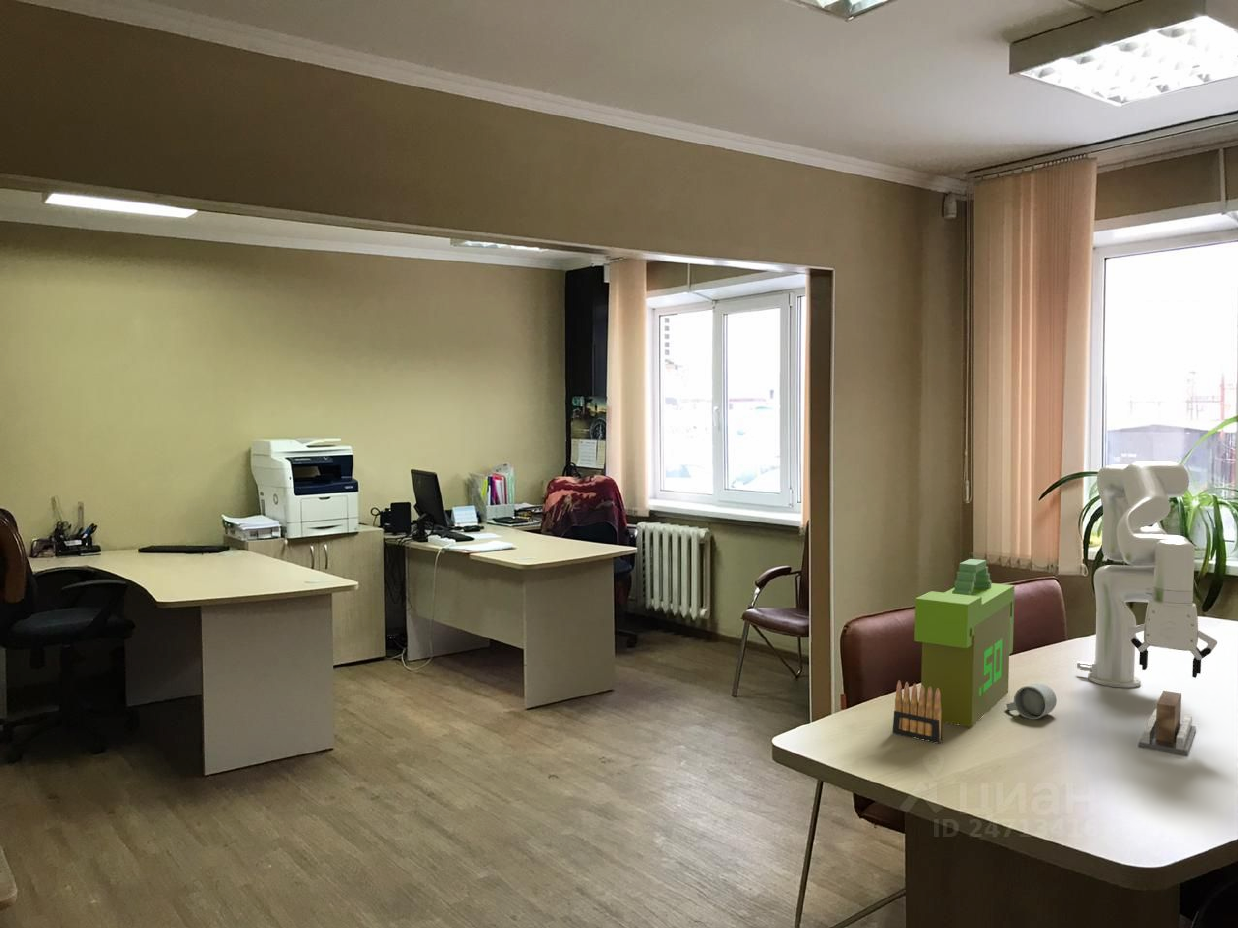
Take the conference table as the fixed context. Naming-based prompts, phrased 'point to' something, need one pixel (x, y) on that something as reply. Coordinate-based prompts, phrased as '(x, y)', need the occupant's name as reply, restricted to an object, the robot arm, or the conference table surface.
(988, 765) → the conference table surface
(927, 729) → the ammunition clip
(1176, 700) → the door panel
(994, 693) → the ammo box
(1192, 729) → the floor track
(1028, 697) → the ceramic mug
